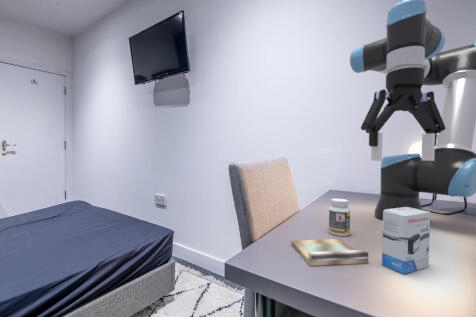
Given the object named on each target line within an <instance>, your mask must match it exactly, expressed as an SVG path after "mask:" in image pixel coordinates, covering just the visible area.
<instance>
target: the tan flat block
mask: <svg viewBox="0 0 476 317" xmlns="http://www.w3.org/2000/svg"><path fill="white" fill-rule="evenodd" d="M290 242H291V243H290V244H291V246H292V247H293V248H294V249H295V251H297V253H298V254H299V255H300V257H302V259H304V261H305V262H306V263H307V264H308V265H309V266H310V267H315V266H335V265H339V266H340V265H356V264H358V265H359V264H369V251H368V250H367V249H355V248H353V247H352V246H351V245H349V244H348V243H346V242H344V241H343V240H341V239H340V238H330V239H327V238H326V239H325V238H324V239H321V238H320V239H304V240H302V239H301V240H300V239H298V240H294V239H293V240H290Z"/></svg>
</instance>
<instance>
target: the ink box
mask: <svg viewBox="0 0 476 317" xmlns="http://www.w3.org/2000/svg"><path fill="white" fill-rule="evenodd" d="M430 225H431V211H427V210H423V209H422V210H419V209H415V208H410V207H401V208H393V209H385V210H384V211H383V220H382V240H381V241H382V243H381V244H382V245H381V247H382V250H381V265H382V266H385V267H386V268H388V269H391V270H393V271H396V272H398V273H400V274H402V275H406V274H410V273H413V272H416V271H419V270H423V269H425V268H429V266H430V264H429V263H430V262H429V261H430V236H431V235H430V232H431V230H430V229H431V226H430Z"/></svg>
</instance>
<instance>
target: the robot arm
mask: <svg viewBox="0 0 476 317" xmlns="http://www.w3.org/2000/svg"><path fill="white" fill-rule="evenodd" d="M426 8H427V6H426V0H401V1H399V2H398V3H395V4H394V5H393V6H392V7H390V9H389V10H388V12H387V20H386V25H385V27H386V37H385V38H381V39H378V40H375V41H373V42H370V43H367V44H363V45H361V46H359V47H357V48H355V49H353V50H352V52H351V53H350V56H349V64H350V65H349V66H350V68H351V70H352V71H353V72H354V73H356V74H357V73H358V74H360V73H365V72H368V71H373V72H377V73H382V74H385V89H381V90H378V91H375V92H374V93H373V94H374V96H373V101H372V102H371V104H370V107H369V109H368V112H367V113H366V116H365V118H364V119H363V122H362V124H361V126H360V130H362V131H365V133H367V134H368V146H369V147H371V151H370V152H371V153H370V154H371V156H370V160H371V161H376V162H379V161H380V162H381V163H380V164H381V165H380V195H379V198H378V201H377V204H376V206H375V209H374V217H375V218H377V219H378V220H381V221H383V211H384V210H385V209H393V208H401V207H410V208H415V209H419V210H423V207H422V204H421V201H420V193H423V194H424V193H425V194H431V195H432V194H435V195H441V196H450V197H460V198H461V197H462V198H469V197H472V196H474V195H475V194H476V152H475V151H474V150H472V147H473V142H474V136H475V135H474V134H475V128H476V42H473V43H471V44H468V45H465V46H461V47H457V48H456V47H455V48H452V49H447V50H444V51H442V50H443V48H444V46H445V42H446V37H445V35H444V33H443V32H442V30H441V29H440V28H439V27H438V26H435V25H434V24H432V23H431V21H430V20H429V19H428V18H427V13H428V12H427V9H426ZM439 85H440V86H441V85H442V86H443V87H444V88H445V89H446V91H445V92H446V93H445V97H444V98H445V99H444V102H443V103H444V104H443V108H442V114H441V112H440V110H439V109H438V106H437V103H436V101H435V93H434V91H433V90H432V91H428V92H422V87H423V86H429V87H430V86H439ZM386 100H387V102H388V103H386V105H384V103H385V101H386ZM383 105H384V107H383ZM382 108H383V110H382ZM381 110H382V111H381ZM399 111H401V112H409V114H412V116H413V117H414V119H415V120H416V121H417V123H418V124H419V125H420V127H421V128H422V130H423V132H424V133H422V134H421V136H422V137H421V155H420V153H407V154H405V153H404V154H396V155H387V156H384V157H383V137H384V136H383V135H384V134H383V132H380V131H381V129H383V127H384V126H385V124H386V123H387V122H388V121H389V120H390V118H391V117H392V115H394V113H395V112H399ZM437 134H438V136H437Z"/></svg>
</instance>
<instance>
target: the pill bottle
mask: <svg viewBox="0 0 476 317" xmlns="http://www.w3.org/2000/svg"><path fill="white" fill-rule="evenodd" d="M330 204H331V206H329V208H328V232H329V233H330V234H332V235H333V236H338V237H347V236H349V235H350V234H351V209H350V208H349V207H348V206H349V200H348V199H343V198H331V199H330Z"/></svg>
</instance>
